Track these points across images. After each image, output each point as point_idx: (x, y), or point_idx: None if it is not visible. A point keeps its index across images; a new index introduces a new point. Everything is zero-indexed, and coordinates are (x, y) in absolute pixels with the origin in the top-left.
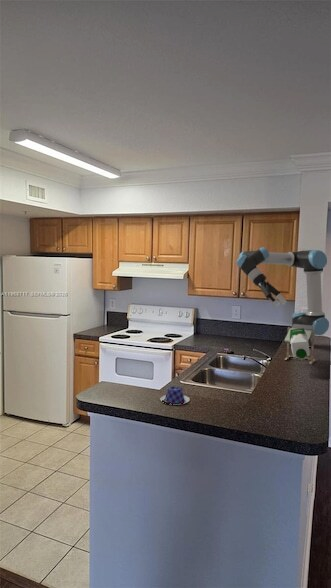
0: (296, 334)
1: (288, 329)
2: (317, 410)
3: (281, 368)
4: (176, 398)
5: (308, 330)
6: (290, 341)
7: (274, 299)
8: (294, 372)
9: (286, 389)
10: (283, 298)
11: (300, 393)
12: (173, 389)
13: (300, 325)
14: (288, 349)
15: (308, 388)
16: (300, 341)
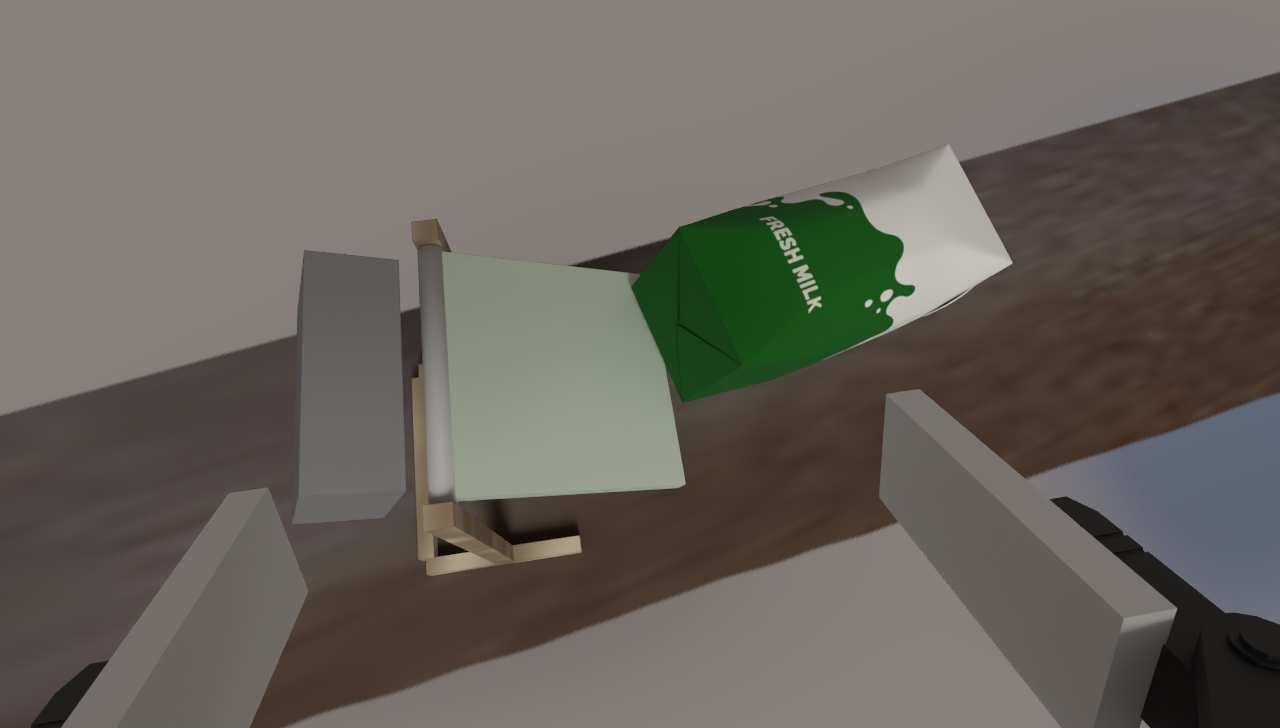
0: (888, 246)
1: (461, 516)
2: (1273, 94)
3: (812, 471)
4: None
5: (443, 281)
6: (905, 319)
7: (1069, 516)
8: (836, 364)
9: (1170, 274)
10: (208, 589)
11: (1158, 205)
12: None
13: (326, 392)
14: (500, 538)
15: (1055, 202)
16: (970, 194)
